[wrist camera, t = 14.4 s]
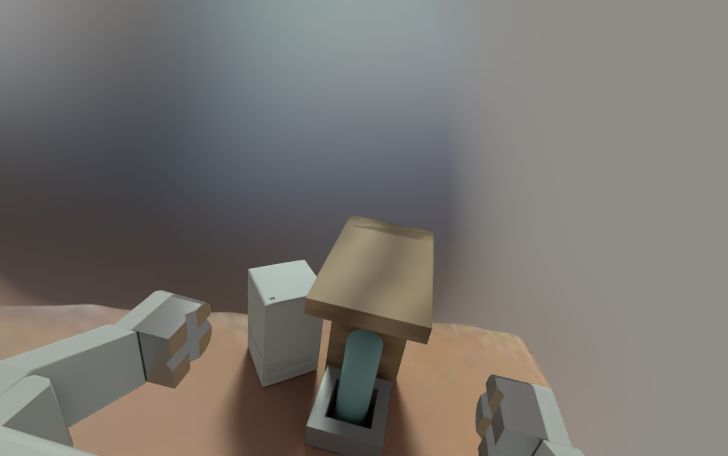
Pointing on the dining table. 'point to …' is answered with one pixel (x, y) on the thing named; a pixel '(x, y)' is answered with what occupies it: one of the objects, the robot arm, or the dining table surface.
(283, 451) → the dining table surface
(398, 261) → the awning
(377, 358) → the peg
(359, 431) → the socket
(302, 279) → the supplement box
